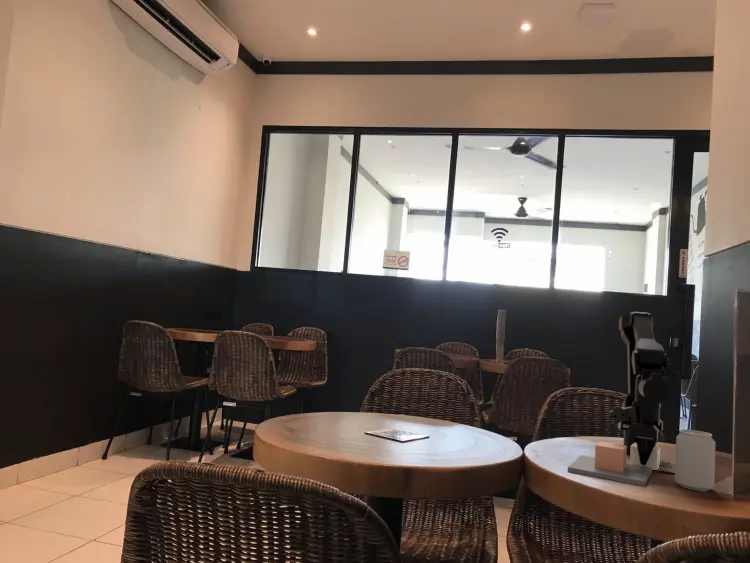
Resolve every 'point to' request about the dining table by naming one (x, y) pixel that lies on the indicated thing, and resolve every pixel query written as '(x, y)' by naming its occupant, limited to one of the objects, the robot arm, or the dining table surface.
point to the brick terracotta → (610, 456)
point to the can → (695, 460)
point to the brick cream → (652, 461)
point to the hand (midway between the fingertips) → (644, 462)
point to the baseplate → (611, 471)
